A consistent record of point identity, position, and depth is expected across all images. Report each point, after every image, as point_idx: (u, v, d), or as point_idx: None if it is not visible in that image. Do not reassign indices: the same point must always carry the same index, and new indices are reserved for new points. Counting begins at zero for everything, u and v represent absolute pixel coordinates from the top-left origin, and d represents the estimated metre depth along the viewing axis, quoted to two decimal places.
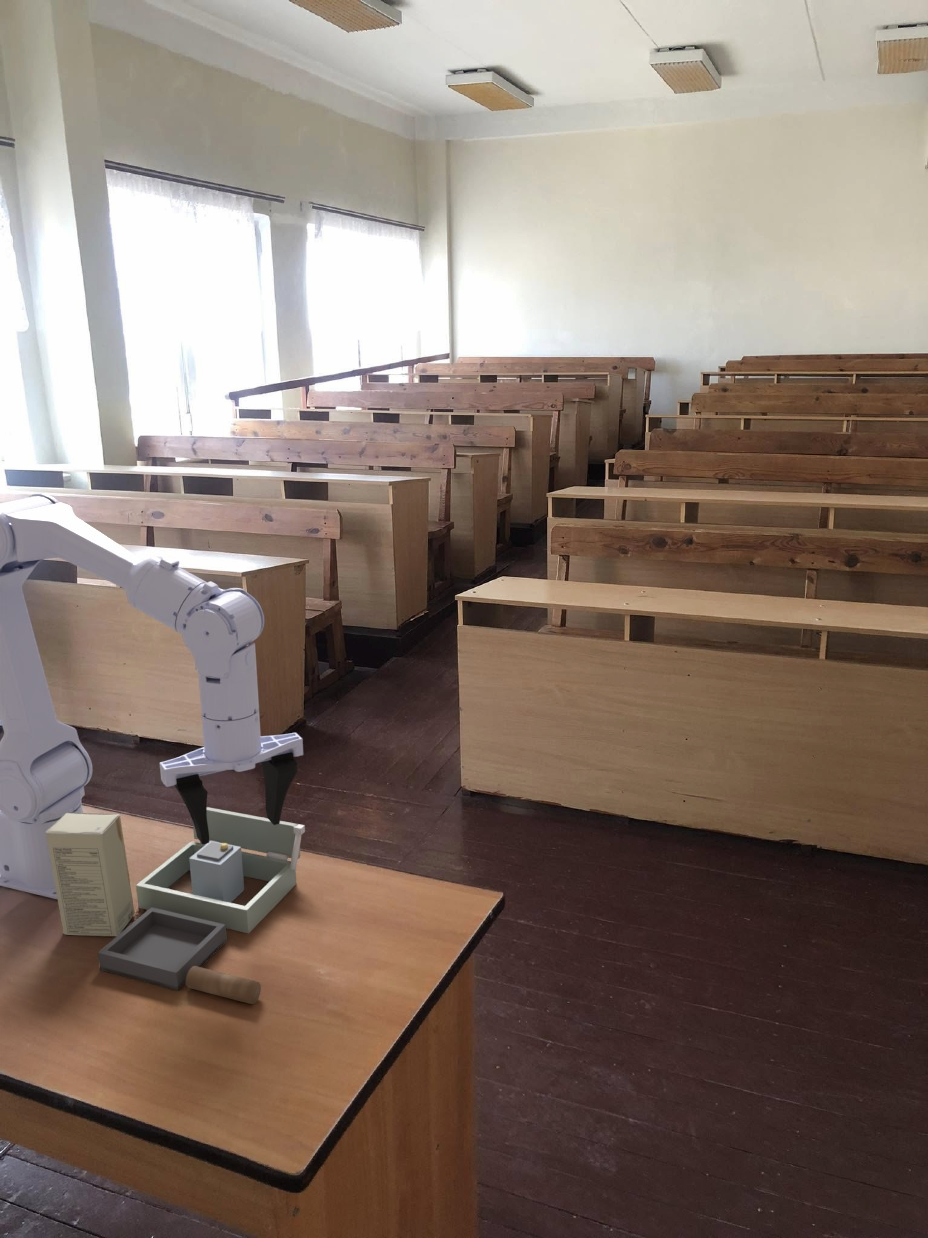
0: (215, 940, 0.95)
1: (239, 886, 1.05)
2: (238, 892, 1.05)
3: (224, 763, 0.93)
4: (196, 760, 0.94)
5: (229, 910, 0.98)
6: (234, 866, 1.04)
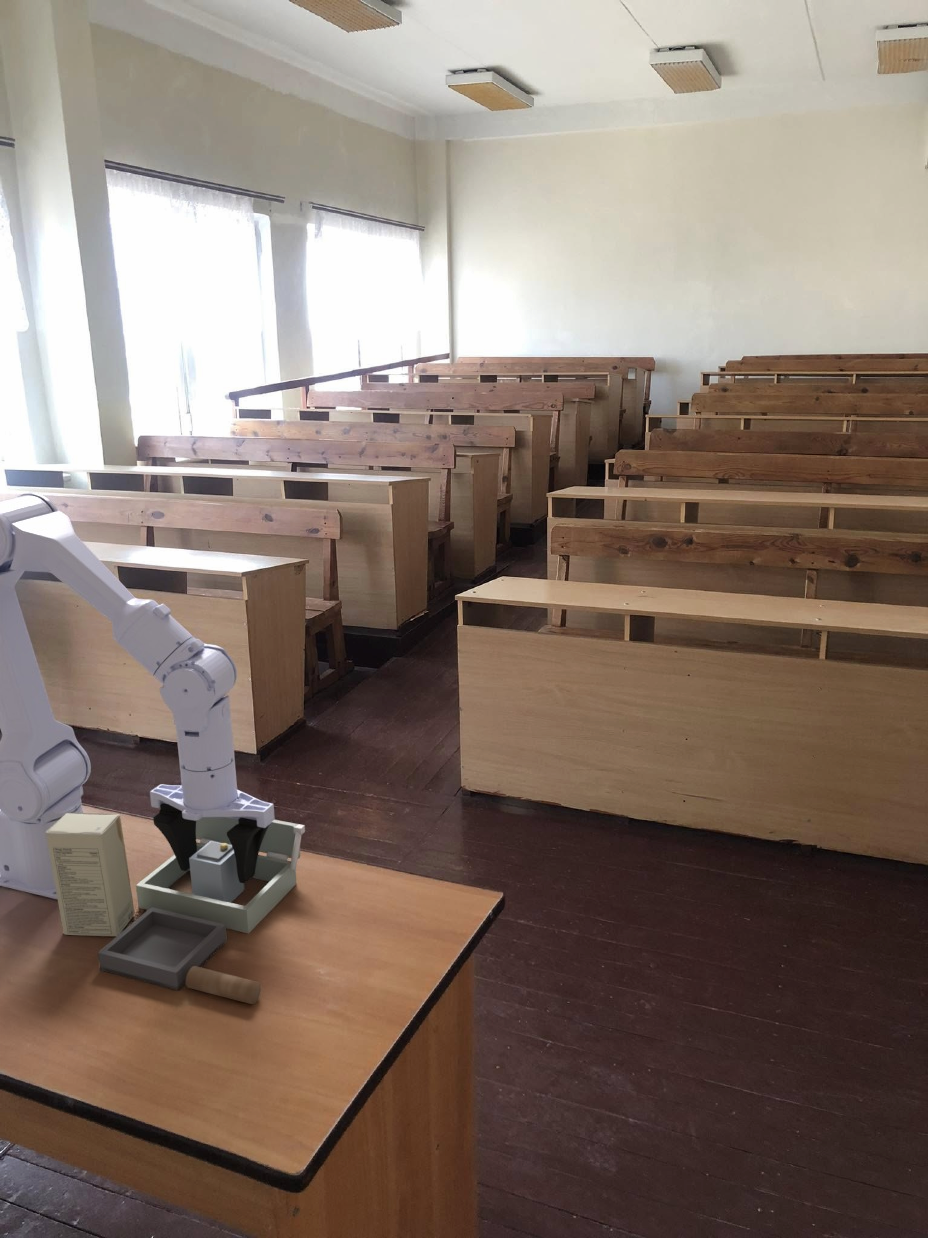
0: (215, 940, 0.95)
1: (239, 886, 1.05)
2: (238, 892, 1.05)
3: (182, 805, 1.00)
4: (180, 794, 1.03)
5: (229, 910, 0.98)
6: (234, 866, 1.04)
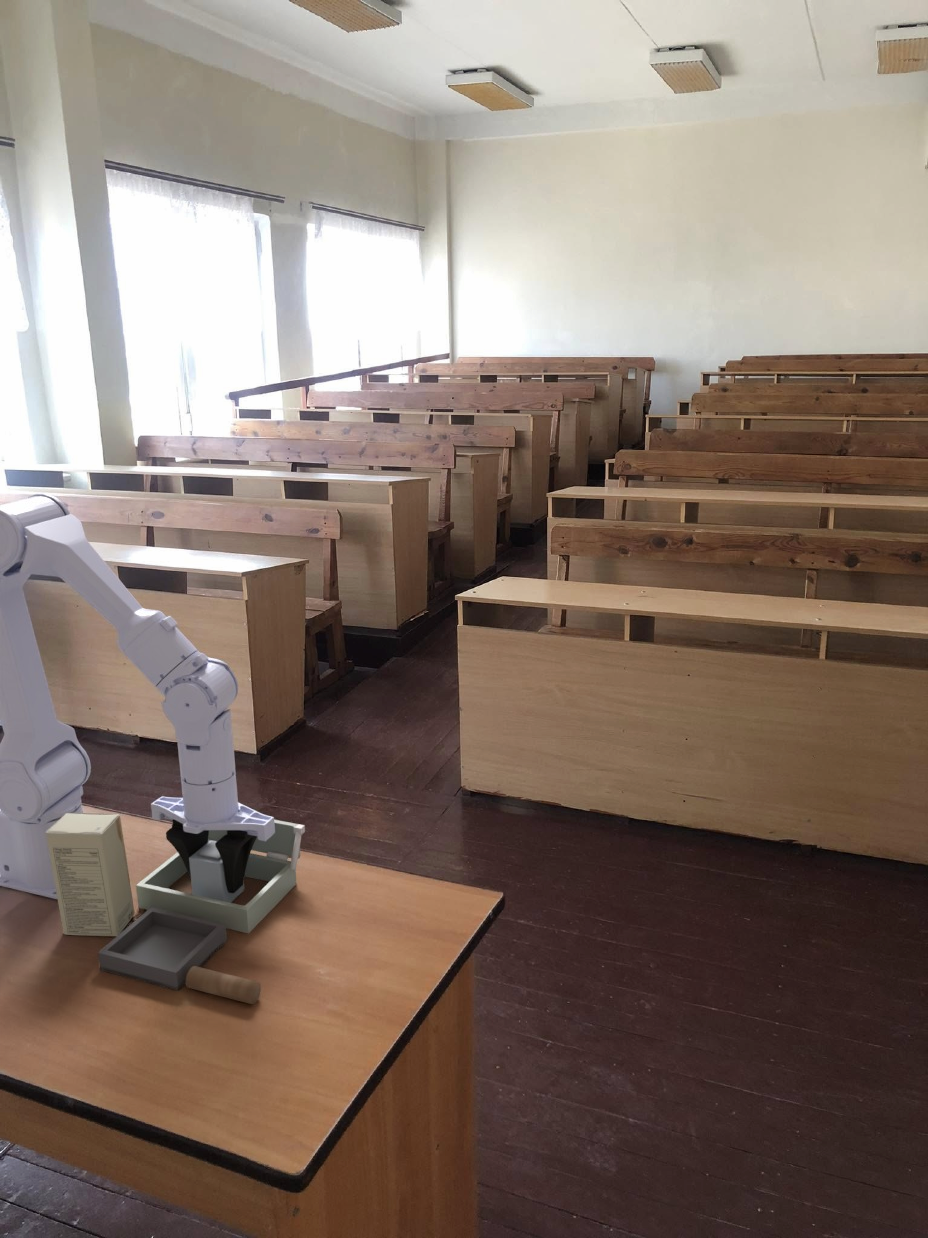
0: (215, 940, 0.95)
1: None
2: (238, 892, 1.05)
3: (183, 818, 1.00)
4: (181, 806, 1.03)
5: (229, 910, 0.98)
6: None
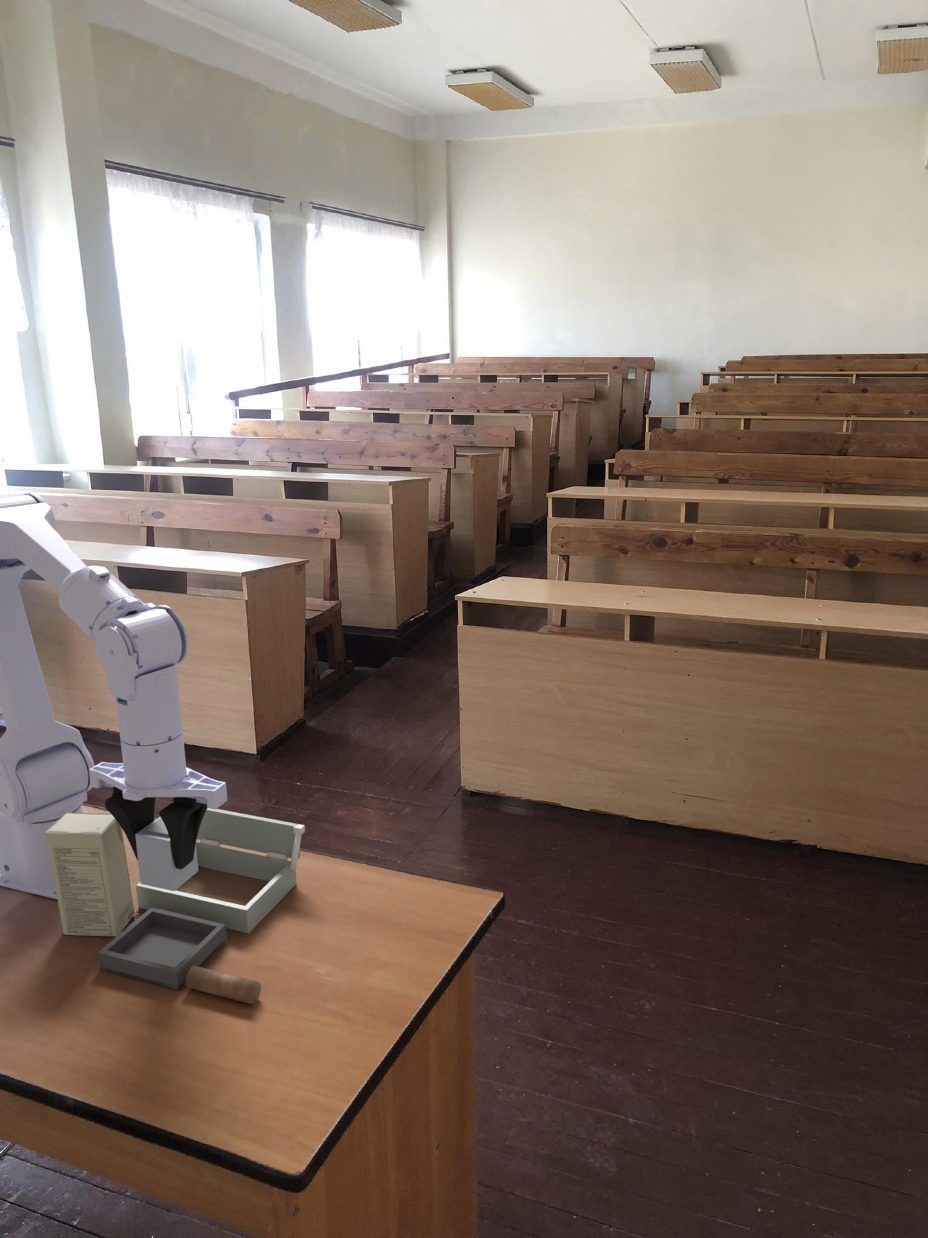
0: (215, 940, 0.95)
1: (192, 866, 0.94)
2: (191, 873, 0.94)
3: (124, 784, 0.89)
4: (122, 772, 0.92)
5: (229, 910, 0.98)
6: None
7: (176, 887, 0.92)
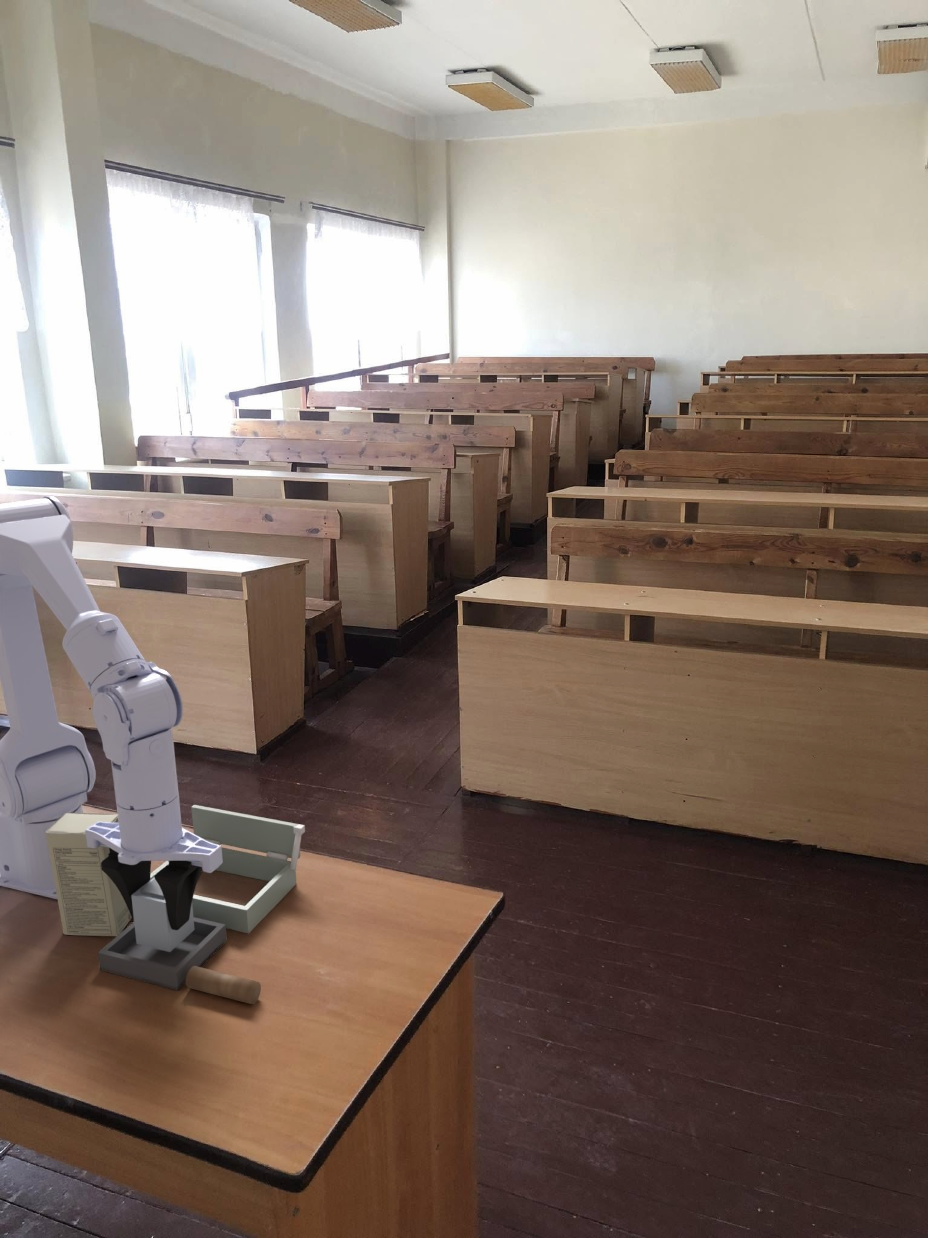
0: (215, 940, 0.95)
1: (188, 926, 0.95)
2: (187, 932, 0.94)
3: (119, 847, 0.89)
4: (119, 833, 0.92)
5: (229, 910, 0.98)
6: None
7: (171, 947, 0.92)
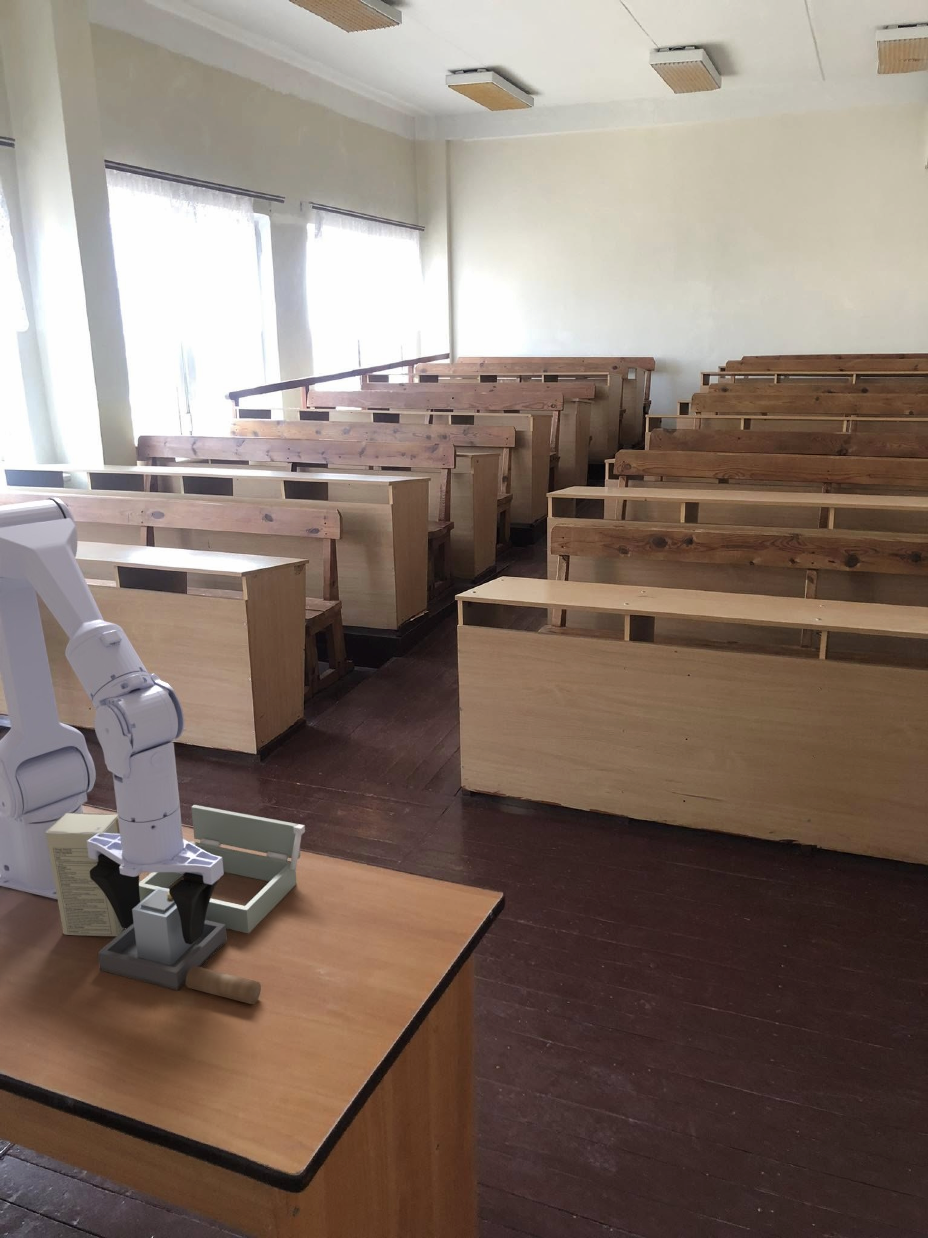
0: (215, 940, 0.95)
1: None
2: (188, 945, 0.95)
3: (121, 859, 0.90)
4: (120, 844, 0.92)
5: (229, 910, 0.98)
6: None
7: (172, 961, 0.93)
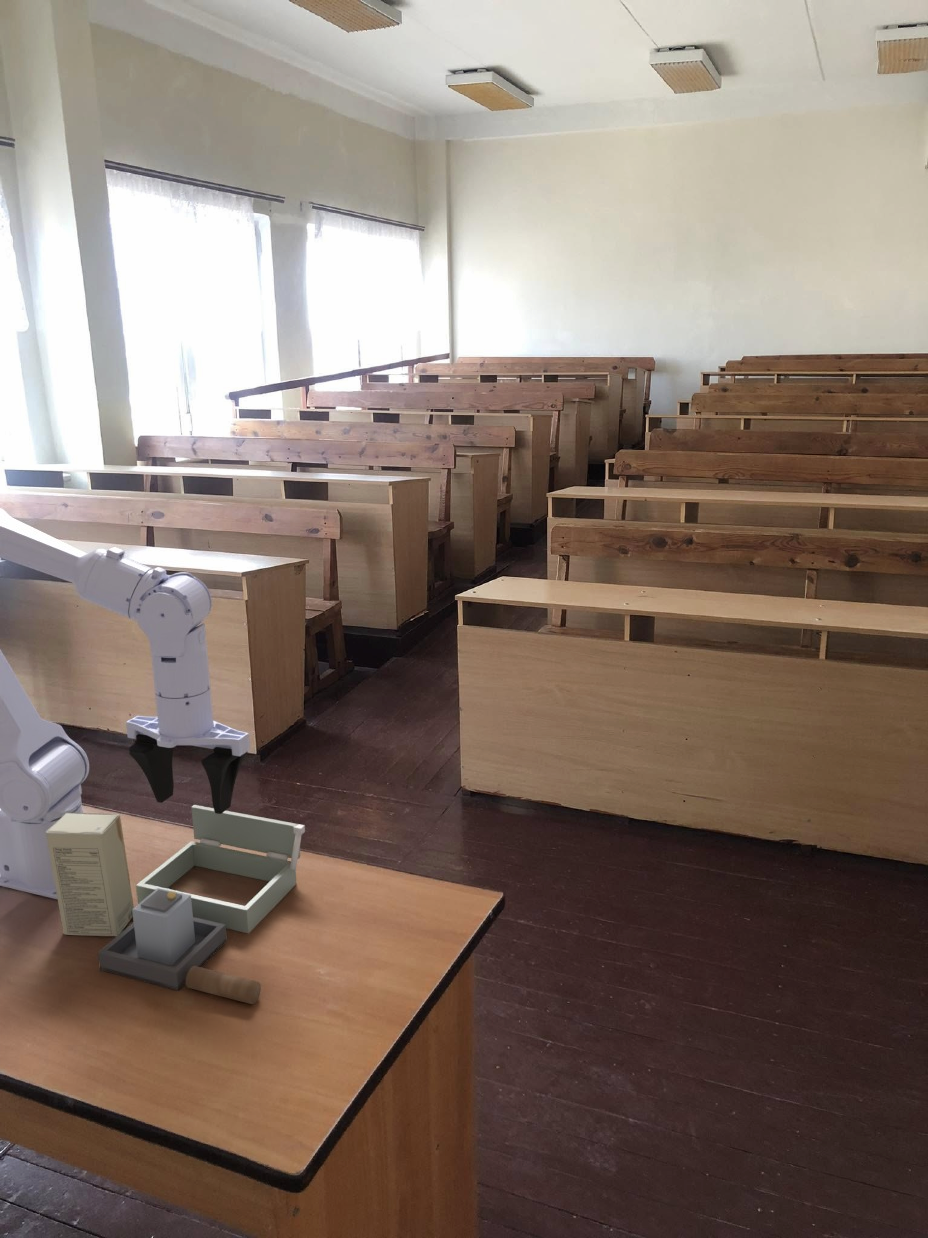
0: (215, 940, 0.95)
1: (189, 938, 0.95)
2: (188, 945, 0.95)
3: (158, 734, 0.99)
4: (156, 724, 1.02)
5: (229, 910, 0.98)
6: (183, 917, 0.94)
7: (172, 961, 0.93)
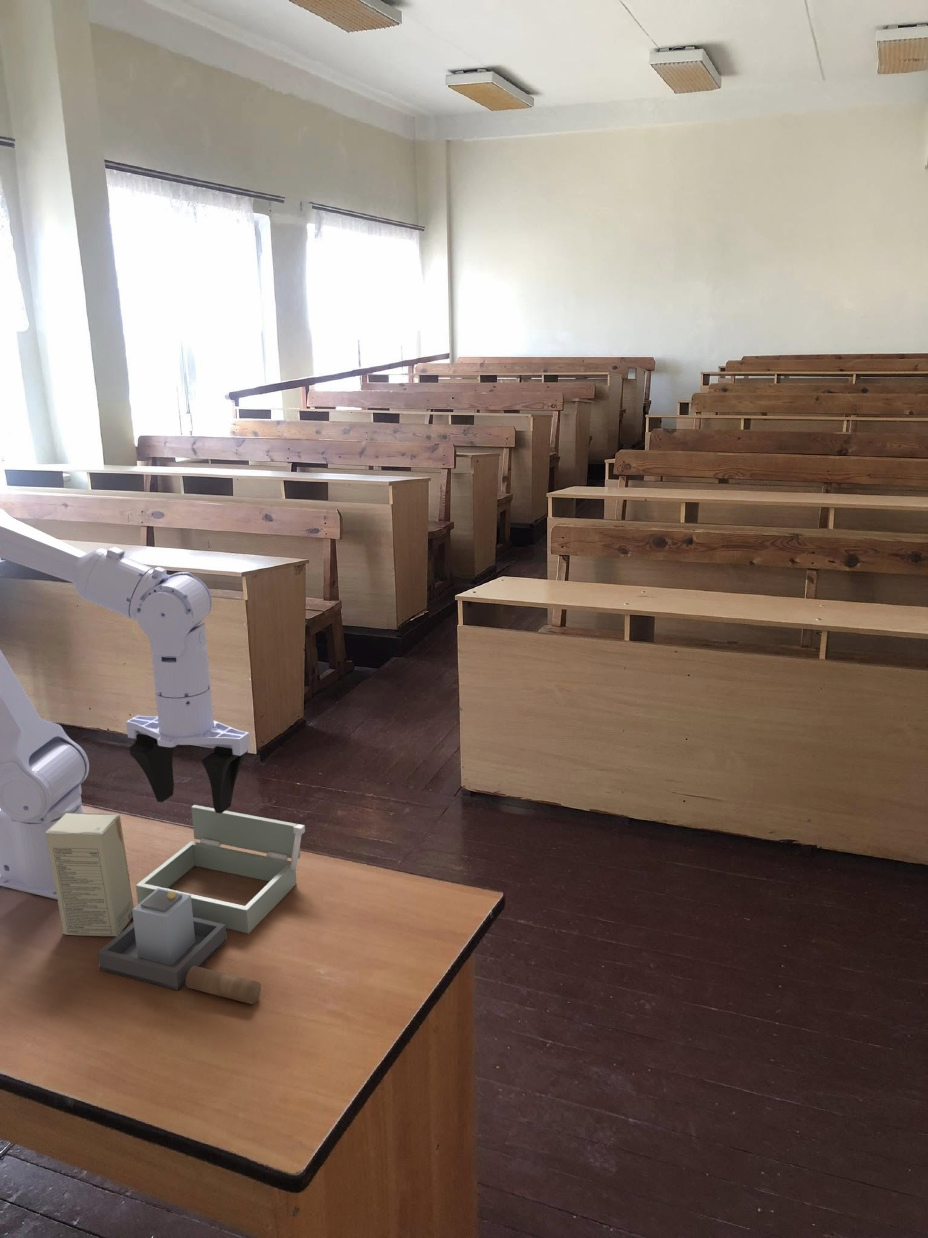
0: (215, 940, 0.95)
1: (189, 938, 0.95)
2: (188, 945, 0.95)
3: (158, 733, 1.00)
4: (156, 724, 1.02)
5: (229, 910, 0.98)
6: (183, 917, 0.94)
7: (172, 961, 0.93)
